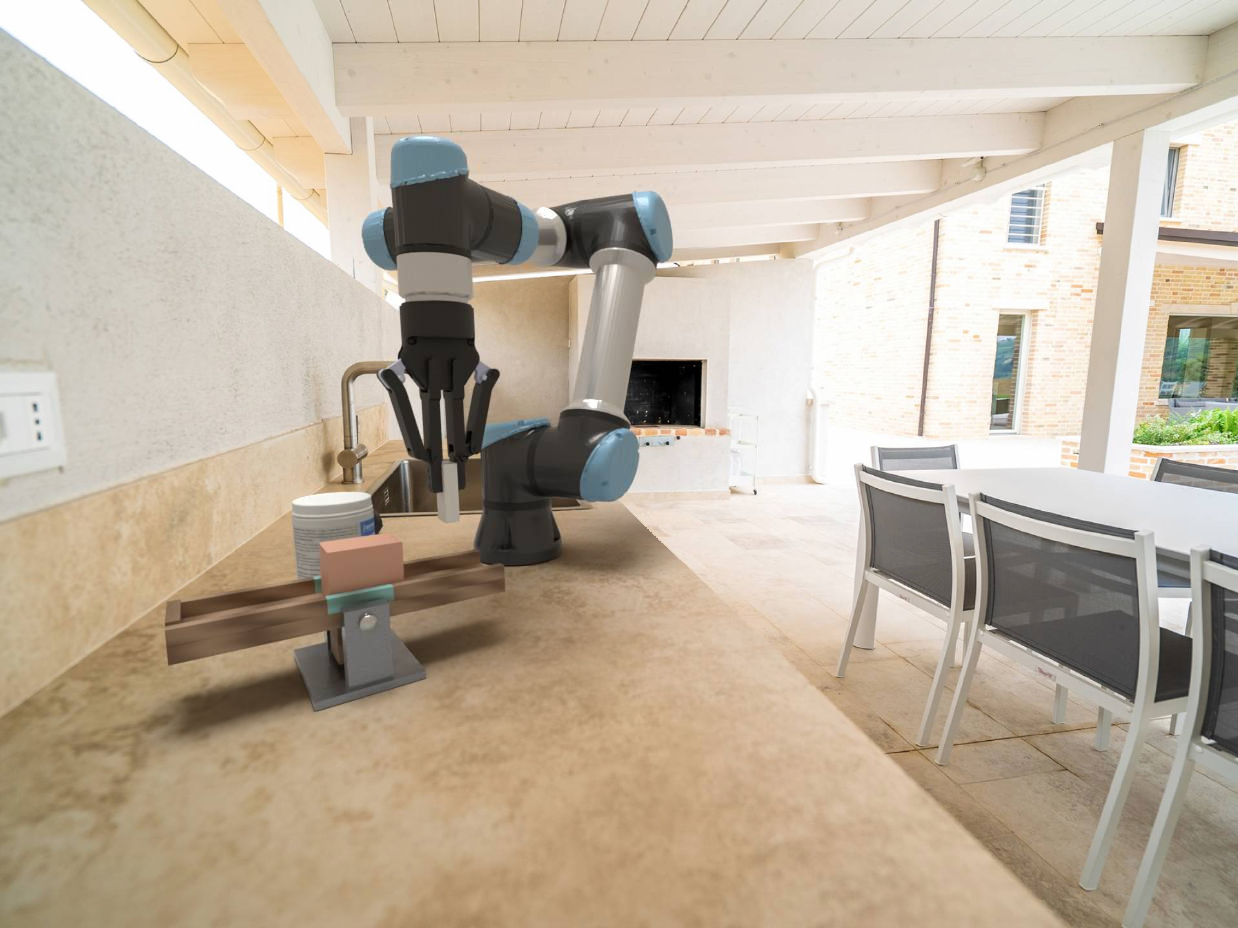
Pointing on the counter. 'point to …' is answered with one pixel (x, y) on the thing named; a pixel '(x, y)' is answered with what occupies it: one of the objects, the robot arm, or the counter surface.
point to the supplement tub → (327, 525)
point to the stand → (358, 658)
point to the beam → (316, 606)
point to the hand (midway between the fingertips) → (448, 519)
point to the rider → (360, 563)
